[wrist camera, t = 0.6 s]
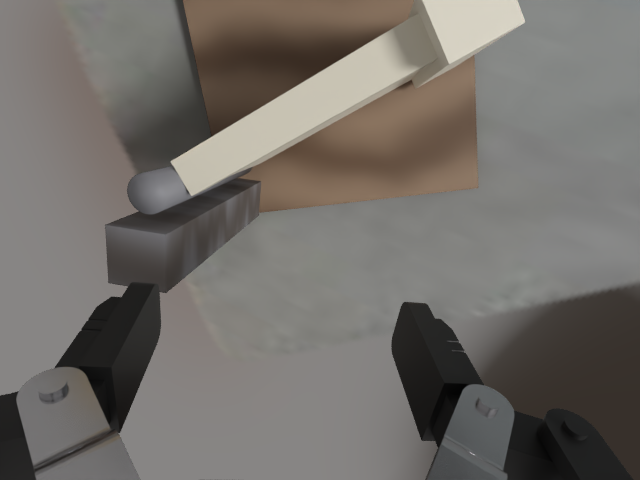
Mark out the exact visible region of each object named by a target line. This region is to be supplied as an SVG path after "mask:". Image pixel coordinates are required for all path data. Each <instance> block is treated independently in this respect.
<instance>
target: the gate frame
mask: <svg viewBox="0 0 640 480" xmlns="http://www.w3.org/2000/svg"><path fill="white" fill-rule="evenodd" d="M413 2H414V0H183V4H184V8H185V13H186V18H187V22H188V27H189V32H190V37H191V41H192V46H193V51H194V55H195V60H196V65H197V70H198V74H199V79H200V84H201V89H202V93H203V98H204V103H205V107H206V112H207V117H208V122H209V126H210V131H211V136H214V135H216V134H217V133H219V132H221V131H222V130H224V129H226V128H227V127H229V126H231V125H232V124H234V123H236V122H237V121H239V120H241V119H242V118H244V117H246V116H247V115H249V114H251V113H252V112H254V111H256V110H257V109H259V108H261V107H262V106H264V105H266V104H267V103H269V102H271V101H272V100H274V99H276V98H277V97H279V96H281V95H282V94H284V93H286V92H287V91H289V90H291V89H292V88H294V87H296V86H297V85H299V84H301V83H302V82H304V81H306V80H307V79H309V78H311V77H312V76H314V75H316V74H317V73H319V72H321V71H322V70H324V69H326V68H327V67H329V66H331V65H332V64H334V63H336V62H338V61H339V60H341V59H343V58H344V57H346V56H348V55H349V54H351V53H353V52H354V51H356V50H358V49H359V48H361V47H363V46H364V45H366V44H368V43H369V42H371V41H373V40H374V39H376V38H378V37H379V36H381V35H383V34H384V33H386V32H388V31H389V30H391V29H393V28H394V27H396V26H398V25H399V24H401V23H403V22H404V21H406V20H408V17H409V14H410V11H411V8H412V5H413ZM474 188H478V167H477V132H476V97H475V62H474V55H473V56H471V57H470V58H468V59H467V60H465V61H464V62H462V63H460V64H459V65H457V66H456V67H454V68H452V69H450V70H449V71H447V72H445V73H443V74H441V75H439V76H438V77H436V78H434V79H432V80H430V81H429V82H427V83H425V84H423V85H421V86H419V87H418V88H416V89H415V87H414V84H413V82H412V80H410V81H408V82H406V83H404V84H403V85H401V86H399V87H397V88H395V89H394V90H392V91H390V92H388V93H386V94H385V95H383V96H381V97H379V98H377V99H376V100H374V101H372V102H370V103H368V104H367V105H365V106H363V107H361V108H359V109H358V110H356V111H354V112H352V113H350V114H349V115H347V116H345V117H343V118H341V119H340V120H338V121H336V122H334V123H332V124H331V125H329V126H327V127H325V128H323V129H322V130H320V131H318V132H316V133H314V134H313V135H311V136H309V137H307V138H305V139H304V140H302V141H300V142H298V143H296V144H295V145H293V146H291V147H289V148H287V149H286V150H284V151H282V152H280V153H278V154H277V155H275V156H273V157H271V158H269V159H268V160H266V161H264V162H262V163H260V164H258V165H256V166H253V168H252V170H251V171H250V172H249V173H248V174H245V175H243V176H241V177H238V178H236V179H234V180H232V181H229V182H227V183H225V184H222V185H220V186H218V187H216V188H213V189H211V190H209V191H206V192H204V193H202V194H200V195H197V196H195V197H193V198H190V199H188V200H186V201H184V202H181V203H179V204H177V205H175V206H172V207H170V208H168V209H165V210H163V211H161V212H159V213H156V214H144V213H142V212H140V211H139V212H136V213H134V214H132V215H129V216H126V217H124V218H121V219H119V220H117V221H114V222H111V223H109V224H106V225H105V229H106V246H107V265H108V283H112V284H117V285H123V286H129V285H130V283H132V282H141V283H155V284H158V286H159V292H163V293H167V292H168V291H169V290H170V289H172V287H174V286H175V285H176V284H178V283H179V282H180V281H181V280H182V279H183V278H185V277H186V276H187V275H188V274H189V273H191V272H192V271H193V270H194V269H195V268H197V267H198V266H199V265H200V264H201V263H203V262H204V261H205V260H206V259H207V258H209V257H210V256H211V255H212V254H213V253H214V252H216V251H217V250H218V249H219V248H220V247H222V246H223V245H224V244H225V243H226V242H228V241H229V240H230V239H231V238H232V237H234V236H235V235H236V234H237V233H238V232H240V231H241V230H242V229H243V228H244V227H246V226H247V225H248V224H249V223H250V222H251V221H253V220H254V219H255V218H256V217H257V216H259V213H260V212H269V211H278V210H287V209H296V208H304V207H313V206H322V205H331V204H340V203H349V202H358V201H367V200H376V199H385V198H394V197H402V196H411V195H420V194H429V193H438V192H447V191H456V190H465V189H474Z"/></svg>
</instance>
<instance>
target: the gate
mask: <svg viewBox="0 0 640 480" xmlns="http://www.w3.org/2000/svg"><path fill="white" fill-rule="evenodd" d="M523 23H525V20H524V17H523V14H522V12H521V9H520V6H519V4H518V1H517V0H414V2H413V5H412V8H411V11H410V14H409V17H408V20H406V21H404V22H403V23H401V24H399V25H398V26H396V27H394V28H393V29H391V30H389V31H388V32H386V33H384V34H383V35H381V36H379V37H378V38H376V39H374V40H373V41H371V42H369V43H368V44H366V45H364V46H363V47H361V48H359V49H358V50H356V51H354V52H353V53H351V54H349V55H348V56H346V57H344V58H343V59H341V60H339V61H338V62H336V63H334V64H332V65H331V66H329V67H327V68H326V69H324V70H322V71H321V72H319V73H317V74H316V75H314V76H312V77H311V78H309V79H307V80H306V81H304V82H302V83H301V84H299V85H297V86H296V87H294V88H292V89H291V90H289V91H287V92H286V93H284V94H282V95H281V96H279V97H277V98H276V99H274V100H272V101H271V102H269V103H267V104H266V105H264V106H262V107H261V108H259V109H257V110H256V111H254V112H252V113H251V114H249V115H247V116H246V117H244V118H242V119H241V120H239V121H237V122H236V123H234V124H232V125H231V126H229V127H227V128H226V129H224V130H222V131H221V132H219V133H217V134H216V135H214V136H212V137H211V138H209V139H207V140H206V141H204V142H202V143H201V144H199V145H197V146H196V147H194V148H192V149H191V150H189V151H187V152H186V153H184V154H182V155H181V156H179V157H177V158H176V159H174V160H172V161H171V163H172V165H173V166H170V167H165V168H161V169H157V170H153V171H149V172H144V173H140V174H137V175H135V176H134V177H133V178H132V179H131V180H130V182H129V184H128V189H127V192H128V197H129V200H130V202H131V203H132V205H133V206H134V207H135V208H136V209H137V210H138V211H140V212H142V213H144V214H156V213H159V212H161V211H163V210H165V209H168V208H170V207H172V206H175V205H177V204H179V203H181V202H184V201H186V200H188V199H190V198H193V197H195V196H197V195H200V194H202V193H204V192H206V191H209V190H211V189H213V188H216V187H218V186H220V185H222V184H225V183H227V182H229V181H232V180H234V179H236V178H238V177H241V176H243V175H245V174H248V173H249V172H250V171H251V170H252V168H253V166H256V165H258V164H260V163H262V162H264V161H266V160H268V159H269V158H271V157H273V156H275V155H277V154H278V153H280V152H282V151H284V150H286V149H287V148H289V147H291V146H293V145H295V144H296V143H298V142H300V141H302V140H304V139H305V138H307V137H309V136H311V135H313V134H314V133H316V132H318V131H320V130H322V129H323V128H325V127H327V126H329V125H331V124H332V123H334V122H336V121H338V120H340V119H341V118H343V117H345V116H347V115H349V114H350V113H352V112H354V111H356V110H358V109H359V108H361V107H363V106H365V105H367V104H368V103H370V102H372V101H374V100H376V99H377V98H379V97H381V96H383V95H385V94H386V93H388V92H390V91H392V90H394V89H395V88H397V87H399V86H401V85H403V84H404V83H406V82H408V81H410V80H412V82H413V84H414V87H415V89H416V88H418V87H419V86H421V85H423V84H425V83H427V82H429V81H430V80H432V79H434V78H436V77H438V76H439V75H441V74H443V73H445V72H447V71H449V70H450V69H452V68H454V67H456V66H457V65H459V64H460V63H462V62H464V61H465V60H467V59H468V58H470V57H471V56H473V55H475V54H476V53H478V52H479V51H481V50H482V49H484V48H486V47H487V46H489V45H490V44H492V43H493V42H495V41H497V40H498V39H500V38H501V37H503V36H504V35H506V34H508V33H509V32H511V31H512V30H514V29H516V28H517V27H519V26H520V25H522V24H523Z"/></svg>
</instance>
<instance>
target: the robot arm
mask: <svg viewBox="0 0 640 480" xmlns="http://www.w3.org/2000/svg"><path fill="white" fill-rule="evenodd" d="M159 295H160V294H159V286H158V284H155V283H141V282H132V283H130V285H129V286H128V288H127V290H126V291H125V293H124V294H123V296H122V297H110V298H109V299H107V300H106V301H105V302H103V303H102V304H100V305H99V306H97V307H96V309H95V310H94V312H93V313H92V315H91V316H90V318H89V320H88V321H87V322H86V323H85V325H84V326H83V328H82V331H80V332H79V333H78V335H77V336H76V338H75V339H74V340H73V342H72V343H71V345H70V346H69V348H68V349H67V351H66V352H65V353H64V355H63V356H62V358H61V359H60V361H59V362H58V364H57V365H56V366H55V368H54V369H50V370H46V371H44V372H42V373H39V374H38V375H36V376H34V377H33V378H31V379H30V380H29V381H27V382H26V383H25V384H24V385H23V386H22V387H21V389H20V390H19V391H18V392H15V393H11V394H6V395H1V396H0V480H140V478H139V476H138V474H137V471H136V469H135V467H134V465H133V463H132V461H131V459H130V457H129V455H128V452H127V450H126V448H125V446H124V444H123V442H122V439H121V437H120V435H119V434H118V433H120V431H121V429H122V427H123V424H124V422H125V420H126V417H127V415H128V412H129V410H130V407H131V405H132V403H133V400H134V398H135V395H136V393H137V390H138V388H139V386H140V383H141V381H142V378H143V376H144V374H145V371H146V369H147V367H148V364H149V362H150V359H151V357H152V355H153V352H154V350H155V347H156V345H157V342H158V339H159V335H160V329H161V314H160V296H159ZM392 355H393V358H394V361H395V363H396V366H397V370H398V372H399V375H400V378H401V381H402V384H403V387H404V390H405V393H406V396H407V399H408V402H409V405H410V408H411V411H412V414H413V416H414V420H415V423H416V426H417V429H418V431H419V434H420V437H421V440H422V441H436V444H437V446H438V449H437V452H436V454H435V457H434V459H433V462H432V464H431V467H430V469H429V471H428V474H427V476H426V479H425V480H633V479H632V477H631V476H630V475H629V473H628V472H627V471H626V469H625V468H624V466H623V465H622V464H621V462H620V461H619V460H618V458H617V457H616V456H615V454H614V453H613V451H612V450H611V449H610V447H609V446H608V445H607V443H606V442H605V441H604V439H603V438H602V436H601V435H600V434H599V432H598V431H597V430H596V429H595V428H594V427H593V426H592V425H591V424H590V423H589V422H587V421H586V420H585V419H584V418H582V417H580V416H579V415H577V414H575V413H573V412H570V411H568V410H564V409H552V410H549V411H548V412H547V414H546V415H545V417H544V419H539V418H536V417H533V416H529V415H526V414H523V413H520V412H517V411H514V410H513V408H512V406H511V404H510V403H509V402H508V400H507V399H506V398H505V397H504V396H502V395H501V394H500V393H499V392H497V391H495V390H493V389H492V388H490V387H487V386H484V384H483V382H482V381H481V379H480V377H479V375H478V374H477V372H476V370H475V368H474V367H473V365H472V363H471V362H470V360H469V358H468V356H467V355H466V353H464V349H463V348H462V346H461V344H460V343H459V341H458V339H457V337H456V335H455V334H454V332H453V330H452V329H451V328H450V327H449V326H448V325H447V324H446V323H444V322H443V321H442V320H441V319H435V318H434V316H433V314H432V312H431V310H430V308H429V306H428V305H427V304H426V303H412V302H404V303H403V304H402V306H401V309H400V312H399V316H398V319H397V323H396V326H395V329H394V333H393V337H392Z"/></svg>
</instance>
